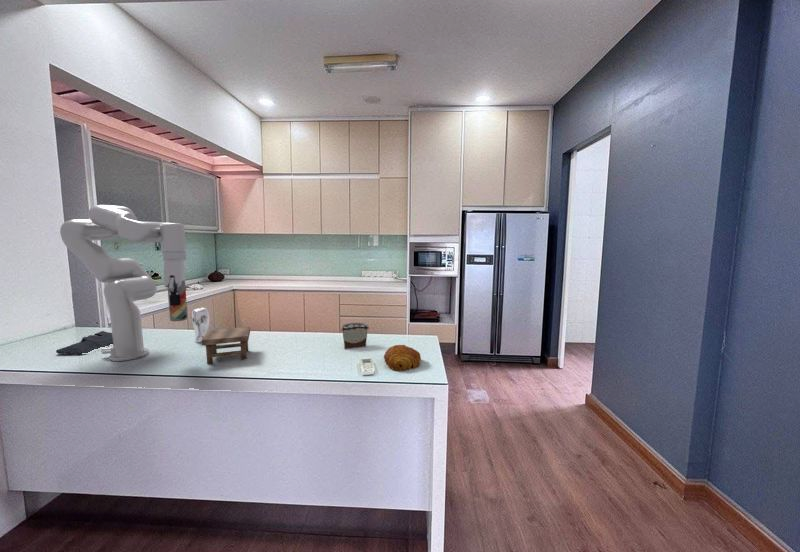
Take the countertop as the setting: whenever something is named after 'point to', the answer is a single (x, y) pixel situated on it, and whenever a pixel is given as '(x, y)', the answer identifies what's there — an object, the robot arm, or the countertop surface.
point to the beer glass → (200, 323)
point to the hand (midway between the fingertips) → (177, 303)
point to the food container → (354, 335)
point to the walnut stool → (226, 337)
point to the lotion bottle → (179, 310)
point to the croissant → (402, 357)
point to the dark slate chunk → (88, 343)
